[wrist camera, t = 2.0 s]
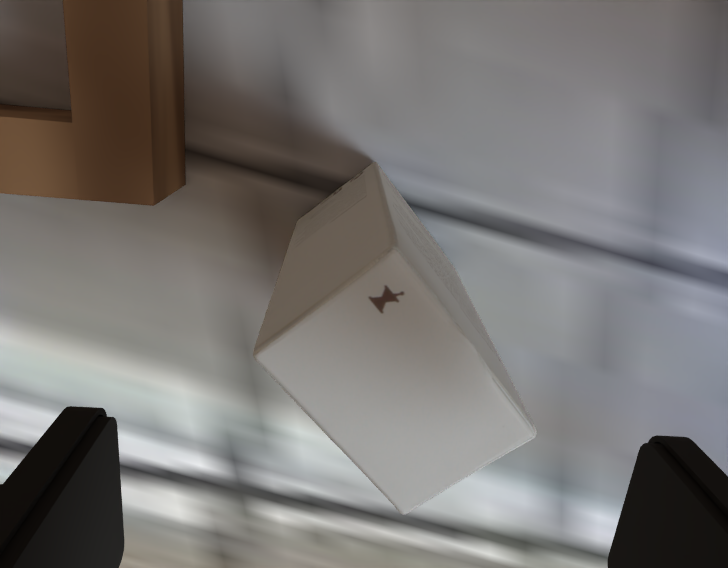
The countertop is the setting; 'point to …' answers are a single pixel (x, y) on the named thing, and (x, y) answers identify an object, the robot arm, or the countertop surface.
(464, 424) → the skincare box
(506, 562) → the countertop surface
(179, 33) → the square wooden frame
